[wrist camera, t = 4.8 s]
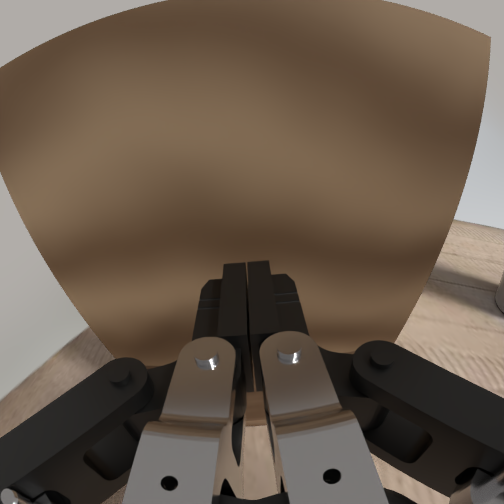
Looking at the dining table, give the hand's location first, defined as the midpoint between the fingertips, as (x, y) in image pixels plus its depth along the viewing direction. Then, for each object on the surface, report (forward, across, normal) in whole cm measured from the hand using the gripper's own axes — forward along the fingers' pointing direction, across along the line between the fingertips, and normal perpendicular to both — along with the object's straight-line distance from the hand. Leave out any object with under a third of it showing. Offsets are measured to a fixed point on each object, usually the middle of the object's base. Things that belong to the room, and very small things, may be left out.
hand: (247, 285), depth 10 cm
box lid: (+2, 0, -1) cm, 2 cm away
